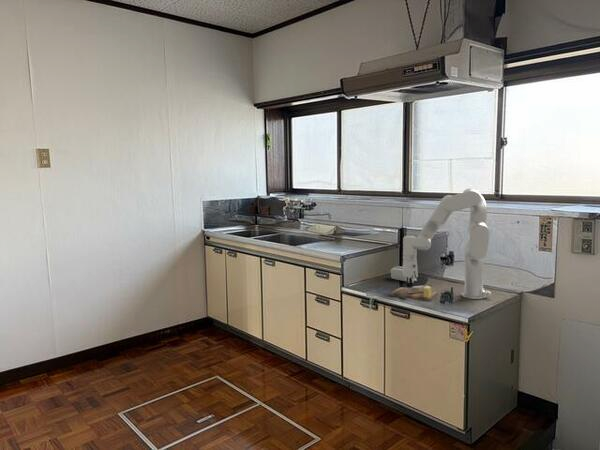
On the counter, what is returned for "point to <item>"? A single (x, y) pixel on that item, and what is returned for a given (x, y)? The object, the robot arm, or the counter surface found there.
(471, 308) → the counter surface
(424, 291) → the keeper block
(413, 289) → the latch bar
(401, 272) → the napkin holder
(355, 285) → the counter surface
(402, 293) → the brown wooden board
